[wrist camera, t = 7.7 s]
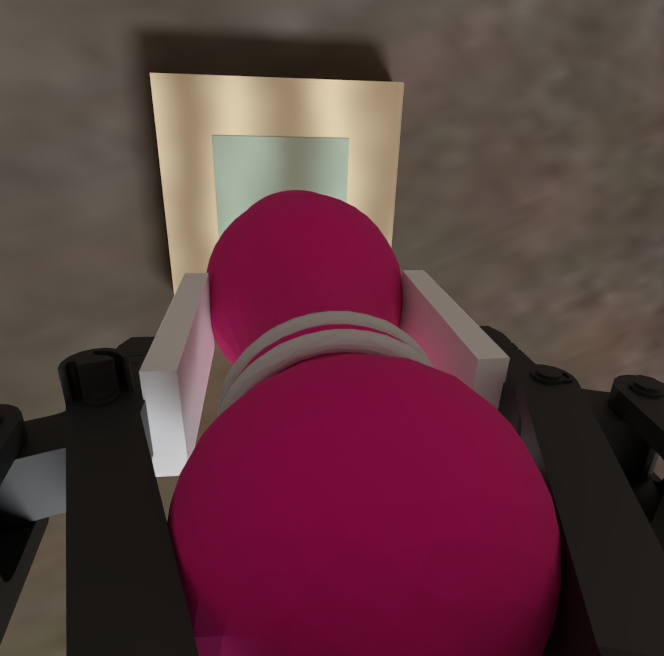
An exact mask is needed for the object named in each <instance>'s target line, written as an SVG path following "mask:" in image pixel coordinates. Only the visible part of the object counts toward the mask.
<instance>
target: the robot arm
mask: <svg viewBox="0 0 664 656" xmlns="http://www.w3.org/2000/svg"><path fill="white" fill-rule="evenodd" d="M401 284H402V293H403V303H402V315H401V320H400V324H399V327H398V328H400V329H401V330H403V331H404V332H406V333H407V334H408V335H410V336H411V337H412V338H413V339H414V340H415V341H416V342H417V343H418V344H419V346H420V347H421V348H422V349H423V350H424V351H425V353H426V355H427V356H428V358H429V359H430V361H431V362H432V365H433V366H434V367H435V369H438V370H440V371H443V372H446V373H448V374H451V375H453V376H456V377H457V378H458V379H459V380H461V381H462V382H463V383H465V384H466V385H467V386H469V387H470V388H471V389H472V390H474V391H475V392H476V393H478V394H479V395H480V396H482V397H483V398H484V399H486V400H487V401H488V402H489V403H491V404H492V405H493V406H494V407H495V408H496V409H497V410H498V411H499V412H500V413H501V414H502V415H503V416H504V417H505V418H506V419H507V420H508V421H509V423H510V424H511V425H512V426H513V427H514V429H515V430H516V432H517V433H518V435H519V436H520V438H521V439H522V441H523V442H524V444H525V445H526V447H527V449H528V451H529V452H530V454H531V456H532V458H533V460H534V462H535V463H536V465H537V467H538V469H539V471H540V473H541V475H542V477H543V479H544V481H545V483H546V486H547V488H548V490H549V492H550V494H551V497H552V500H553V504H554V509H555V513H556V517H557V521H558V525H559V530H560V534H561V589H560V596H559V602H558V608H557V614H556V619H555V622H554V625H553V628H552V631H551V633H550V636H549V638H548V640H547V643H546V645H545V648H544V650H543V653H542V655H541V656H664V479H663V480H661V479H660V478H659V477H658V476H657V475H656V474H655V473H654V469H655V467H656V464H657V461H658V459H659V456H661V457H662V459H663V460H664V383H662V382H659V381H657V380H656V379H654V378H651V377H648V376H647V377H646V376H643V375H637V376H636V375H622V376H618V377H617V378H615V379H614V382H613V385H612V388H611V392H602V391H594V390H587V389H581V387H580V385H579V383H578V381H577V380H576V379H575V378H574V377H573V375H571V374H569V373H567V372H566V371H564V370H561V369H558V368H556V367H552V366H547V365H540V364H535V363H534V362H533V361H532V360H530V359H529V358H528V357H527V356H526V355H525V354H524V353H523V352H522V351H521V350H518V347H517V346H516V345H515V344H514V343H511V341H510V340H509V339H508V338H507V337H506V336H505V335H504V334H503V333H501V332H499V331H497V330H495V329H493V328H491V327H489V326H478V325H477V324H476V323H475V322H474V321H473V320H472V319H471V318H470V317H469V316H468V315H467V314H466V313H465V312H464V311H463V310H462V309H461V308H460V307H459V306H458V305H457V304H456V303H455V302H454V300H453V299H452V298H451V297H450V296H449V295H448V294H447V293H446V292H445V291H444V290H443V289H442V288H441V287H440V286H439V285H438V284H437V283H436V282H435V281H434V280H433V279H432V278H431V277H430V276H429V275H428V274H427V273H426V272H425V271H424V270H402V279H401ZM214 348H215V347H214V335H213V332H212V326H211V315H210V284H209V273H185V274H184V276H183V278H182V280H181V282H180V285H179V287H178V289H177V291H176V293H175V295H174V297H173V300H172V302H171V304H170V306H169V308H168V310H167V312H166V315H165V317H164V319H163V321H162V323H161V325H160V327H159V330H158V332H157V334H156V336H155V337H131V338H130V339H128V340H127V341H125V342H124V343H122V344H121V345H119V346H118V348H117V349H114V348H98V349H91V350H86V351H82V352H79V353H76V354H74V355H72V356H69V357H68V358H66V359H65V360H63V361H62V362H61V363H60V365H59V367H58V373H59V377H60V382H61V386H62V390H63V395H64V399H65V403H66V411H64V412H62V413H59V414H55V415H51V416H48V417H43V418H38V419H33V420H29V421H24V420H23V416H22V413H21V411H20V410H19V409H18V408H17V407H15V406H12V405H8V404H0V644H1V642H2V639H3V636H4V634H5V631H6V629H7V626H8V624H9V621H10V619H11V616H12V614H13V611H14V608H15V606H16V603H17V601H18V598H19V596H20V593H21V591H22V588H23V585H24V583H25V580H26V578H27V575H28V573H29V570H30V568H31V565H32V563H33V560H34V557H35V555H36V552H37V550H38V547H39V545H40V542H41V540H42V537H43V535H44V532H45V529H46V527H47V524H48V521H49V517H50V516H53V515H56V514H60V513H63V512H66V635H67V656H199V653H198V649H197V645H196V641H195V637H194V633H193V628H192V624H191V620H190V616H189V612H188V608H187V604H186V600H185V595H184V591H183V587H182V583H181V579H180V575H179V571H178V567H177V562H176V558H175V554H174V550H173V546H172V542H171V538H170V534H169V529H168V525H167V521H166V517H165V513H164V509H163V505H162V501H161V496H160V492H159V488H158V484H157V480H156V477H163V476H178V475H180V473H181V471H182V469H183V467H184V466H185V464H186V462H187V461H188V459H189V457H190V455H191V454H192V452H193V450H194V448H195V443H196V438H197V433H198V428H199V423H200V418H201V413H202V408H203V403H204V398H205V393H206V388H207V383H208V378H209V373H210V368H211V363H212V358H213V353H214ZM152 461H153V463H152Z"/></svg>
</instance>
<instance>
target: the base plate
mask: <svg viewBox="0 0 664 656" xmlns="http://www.w3.org/2000/svg"><path fill="white" fill-rule="evenodd" d="M150 81H151V90H152V99H153V108H154V117H155V126H156V135H157V144H158V153H159V162H160V171H161V180H162V189H163V198H164V207H165V216H166V226H167V235H168V244H169V253H170V262H171V271H172V280H173V289H174V295H175V293H176V291H177V289H178V287H179V285H180V282H181V280H182V278H183V276H184V274H185V273H206V272H207V267H208V263H209V259H210V256H211V254H212V252H213V249H214V247H215V245H216V243H217V241H218V240H219V238H220V237H221V235H222V234H223V232H224V231H225V230H226V229H227V227H228V226H229V225H230V224H231V223H232V222H233V221H234V220H235V219H236V218H237V217H239V216H240V215H241V214H242V213H244V212H245V211H246V210H247V209H248V208H249V207H251V206H252V205H253V204H254V203H256V202H257V201H259V200H260V199H262V198H264V197H266V196H268V195H271V194H274V193H277V192H281V191H287V190H305V191H312V192H315V193H319V194H322V195H327V196H330V197H334V198H337V199H340V200H342V201H344V202H346V203H348V204H350V205H352V206H354V207H356V208H357V209H358V210H360V211H361V212H362V213H364V214H365V215H367V216H368V217H369V218H370V219H371V220H372V221H373V222H374V223H375V224H376V226H377V227H378V228H379V229H380V231H381V232H382V234H383V235H384V237H385V238H386V239H387V241H388V243H389V245H390V247H391V244H392V232H393V219H394V206H395V193H396V180H397V168H398V155H399V142H400V129H401V117H402V104H403V91H404V82H382V81H356V80H330V79H303V78H277V77H250V76H224V75H197V74H171V73H150Z"/></svg>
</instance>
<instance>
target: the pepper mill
mask: <svg viewBox="0 0 664 656" xmlns="http://www.w3.org/2000/svg"><path fill="white" fill-rule="evenodd" d="M206 273H209V284H210V315H211V326H212V332H213V335H214V338H215V340H216V342H217V344H218V346H219V347H220V349H221V351H222V352H223V354H224V355H225V357H226V358H227V359H228V360H229V361H230V362H231V363H232V365H233V366H232V368H231V369H230V371H229V373H228V375H227V377H226V379H225V381H224V384H223V387H222V390H221V393H220V398H219V403H218V415H217V418H216V420H215V421H214V422H213V423H212V424H211V425H210V426H209V428H208V429H207V430H206V431H205V432H204V433H203V435H202V436H201V438H200V440H199V442H198V443H197V445H196V447H195V449H194V450H193V452H192V454H191V455H190V457H189V459H188V461H187V462H186V464H185V466H184V467H183V469H182V471H181V473H180V476H179V479H178V482H177V485H176V488H175V491H174V494H173V497H172V500H171V503H170V509H169V515H168V521H167V525H168V529H169V534H170V538H171V542H172V546H173V550H174V554H175V558H176V562H177V567H178V571H179V575H180V579H181V583H182V587H183V591H184V595H185V600H186V604H187V608H188V612H189V616H190V620H191V624H192V628H193V633H194V637H195V641H196V645H197V649H198V653H199V656H541V655H542V653H543V650H544V648H545V645H546V643H547V640H548V638H549V636H550V633H551V631H552V628H553V625H554V622H555V619H556V614H557V608H558V602H559V596H560V589H561V534H560V530H559V525H558V521H557V517H556V513H555V509H554V504H553V500H552V497H551V494H550V492H549V490H548V488H547V486H546V483H545V481H544V479H543V477H542V475H541V473H540V471H539V469H538V467H537V465H536V463H535V462H534V460H533V458H532V456H531V454H530V452H529V451H528V449H527V447H526V445H525V444H524V442H523V441H522V439H521V438H520V436H519V435H518V433H517V432H516V430H515V429H514V427H513V426H512V425H511V424H510V423H509V421H508V420H507V419H506V418H505V417H504V416H503V415H502V414H501V413H500V412H499V411H498V410H497V409H496V408H495V407H494V406H493V405H492V404H491V403H489V402H488V401H487V400H486V399H484V398H483V397H482V396H480V395H479V394H478V393H476V392H475V391H474V390H472V389H471V388H470V387H469V386H467V385H466V384H465V383H463V382H462V381H461V380H459V379H458V378H457V377H456V376H453V375H451V374H448V373H446V372H443V371H440V370H438V369H435V367H434V366H433V365H432V362H431V361H430V359H429V358H428V356H427V355H426V353H425V351H424V350H423V349H422V348H421V347H420V346H419V344H418V343H417V342H416V341H415V340H414V339H413V338H412V337H411V336H410V335H408V334H407V333H406V332H404V331H403V330H401V329H400V328H398V327H399V324H400V320H401V315H402V303H403V293H402V284H401V274H400V268H399V264H398V262H397V260H396V257H395V255H394V253H393V251H392V249H391V247H390V245H389V243H388V241H387V239H386V238H385V237H384V235H383V234H382V232H381V231H380V229H379V228H378V227H377V226H376V224H375V223H374V222H373V221H372V220H371V219H370V218H369V217H368V216H367V215H365V214H364V213H362V212H361V211H360V210H358V209H357V208H356V207H354V206H352V205H350V204H348V203H346V202H344V201H342V200H340V199H337V198H334V197H330V196H327V195H322V194H319V193H315V192H312V191H305V190H287V191H281V192H277V193H274V194H271V195H268V196H266V197H264V198H262V199H260V200H259V201H257V202H256V203H254V204H253V205H252V206H251V207H249V208H248V209H247V210H246V211H245V212H244V213H242V214H241V215H240V216H239V217H237V218H236V219H235V220H234V221H233V222H232V223H231V224H230V225H229V226H228V227H227V229H226V230H225V231H224V232H223V234H222V235H221V237H220V238H219V240H218V241H217V243H216V245H215V247H214V249H213V252H212V254H211V256H210V259H209V263H208V267H207V272H206Z"/></svg>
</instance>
